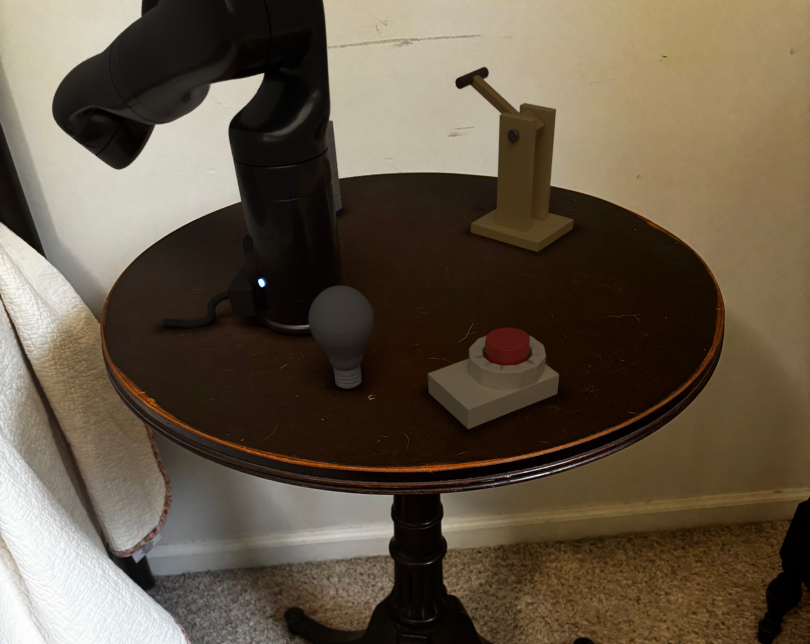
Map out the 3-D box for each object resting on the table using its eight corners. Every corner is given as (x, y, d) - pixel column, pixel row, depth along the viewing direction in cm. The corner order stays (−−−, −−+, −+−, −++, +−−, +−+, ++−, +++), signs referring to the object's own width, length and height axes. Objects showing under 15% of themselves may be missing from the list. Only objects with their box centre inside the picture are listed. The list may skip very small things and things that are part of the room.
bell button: (501, 372, 72) (502, 355, 70) (476, 352, 74) (477, 335, 73) (537, 358, 73) (538, 341, 72) (512, 339, 75) (513, 322, 74)
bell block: (468, 429, 72) (468, 392, 69) (428, 392, 76) (426, 356, 73) (557, 394, 75) (561, 357, 72) (514, 360, 79) (516, 324, 77)
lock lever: (451, 89, 93) (459, 70, 91) (477, 78, 95) (485, 59, 93) (518, 152, 92) (528, 134, 90) (543, 139, 94) (552, 121, 92)
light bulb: (371, 404, 75) (362, 307, 68) (310, 400, 76) (295, 304, 69) (385, 370, 79) (378, 275, 72) (327, 366, 80) (314, 272, 73)
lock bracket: (470, 232, 101) (471, 114, 91) (507, 210, 105) (511, 95, 95) (537, 252, 96) (545, 129, 86) (572, 228, 100) (584, 109, 91)
